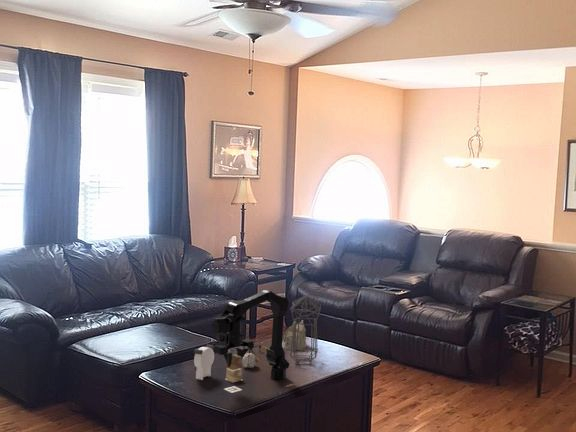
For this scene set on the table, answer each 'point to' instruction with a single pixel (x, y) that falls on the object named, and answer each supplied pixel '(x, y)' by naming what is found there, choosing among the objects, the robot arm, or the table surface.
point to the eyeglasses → (259, 351)
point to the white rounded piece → (203, 361)
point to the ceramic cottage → (301, 337)
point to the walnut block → (235, 362)
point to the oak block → (233, 374)
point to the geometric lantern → (304, 324)
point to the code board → (233, 388)
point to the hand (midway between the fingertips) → (233, 365)
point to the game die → (249, 360)
